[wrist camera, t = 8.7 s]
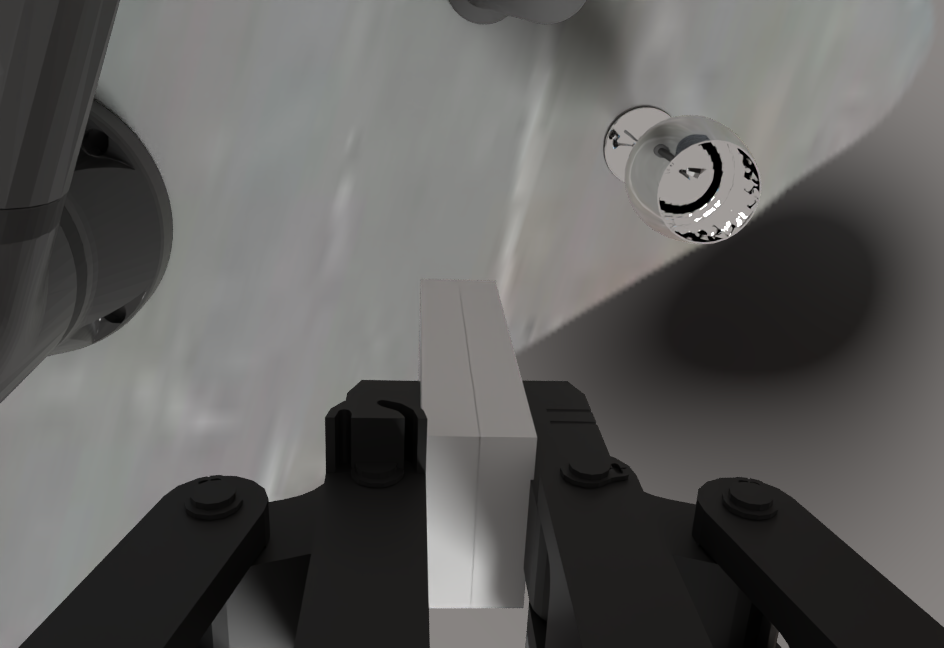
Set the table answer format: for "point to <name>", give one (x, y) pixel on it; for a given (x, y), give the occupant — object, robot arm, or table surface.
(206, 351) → the table surface
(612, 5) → the table surface
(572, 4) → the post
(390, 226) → the table surface
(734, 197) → the wineglass
